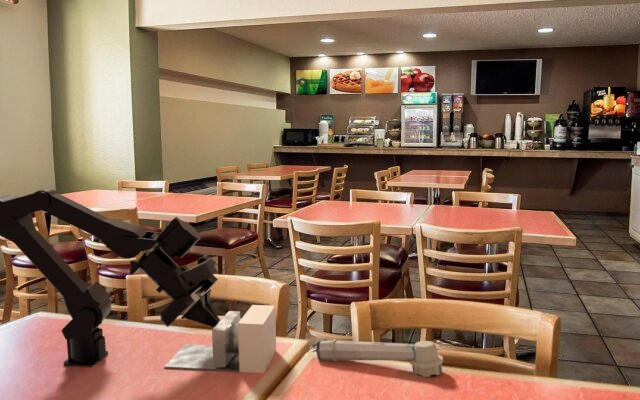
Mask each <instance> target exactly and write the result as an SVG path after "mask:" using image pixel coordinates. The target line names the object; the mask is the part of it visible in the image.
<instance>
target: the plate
mask: <svg viewBox="0 0 640 400" xmlns="http://www.w3.org/2000/svg"><path fill="white" fill-rule="evenodd" d="M163 367H164V369H170V370H171V369H175V370H188V371H189V370H190V371H191V370H192V371H206V372H207V371H212V372H214V371H215V372H230V373H241V372H240V370H239V354H238V353H235V354H234V356H233V357H232V359H231V360H230V362H229V363H228V364H227V366H226V367H213V344H210V345H209V344H190V343H185V344H184V345H183V346H182V347H181V348H180V349H179V350H178V352H176V354H174V356H173V357H171V359H170V360H169V361H168V362H167V363H166V364H165V365H164V366H163Z"/></svg>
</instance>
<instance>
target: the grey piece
mask: <svg viewBox="0 0 640 400" xmlns="http://www.w3.org/2000/svg"><path fill="white" fill-rule="evenodd" d="M240 320H241V311H239V310H238V311H234V310H229V311H228V312H226V314H224V316H223V317H222V318H221V319H220V322H219V323H218V324H217V325H216V326H215V327H213V328H212V330H211V337H212V339H211V340H212V341H211V342H212V344H211V345H213V367H226V366H227V364H228V363H229V362H230V360H231V359H232V357H233V356H234V354H235V353H238V354H239V339H238V323H239V321H240Z"/></svg>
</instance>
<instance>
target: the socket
mask: <svg viewBox="0 0 640 400" xmlns="http://www.w3.org/2000/svg"><path fill="white" fill-rule="evenodd" d="M276 326H277V324H276V305H267V304H266V305H261V304H251V306H250V308H249V309H248V310H247V311H246V312H245V314H244V315H243V316H242V318H240V321H239V323H238V339H239V370H240V372H239V373H249V374H250V373H253V374H265V373H266V371H267V369H268V367H269V366H270V363H271V362H272V360H273V358H274V355H275V353H276V351H277V334H276V333H277V330H276V329H277V328H276Z"/></svg>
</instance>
